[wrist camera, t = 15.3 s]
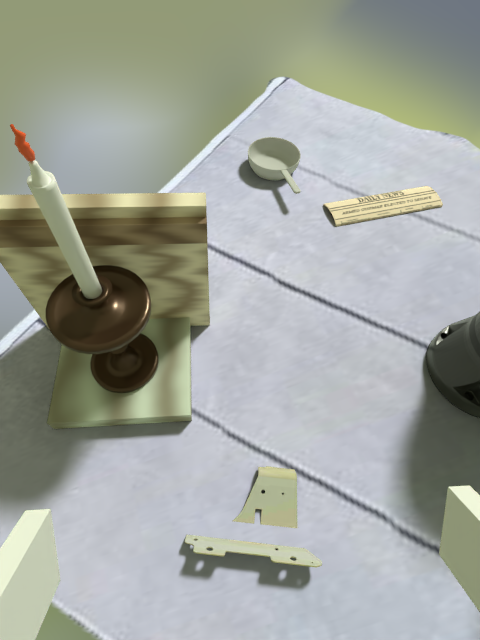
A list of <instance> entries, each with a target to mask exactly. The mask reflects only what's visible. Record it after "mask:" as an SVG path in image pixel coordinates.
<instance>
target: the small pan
mask: <svg viewBox="0 0 480 640" xmlns="http://www.w3.org/2000/svg"><path fill="white" fill-rule="evenodd" d="M248 160H249V163H250V166H251V168H252V169H253V171H254V172H255V173H256V174H257V175H258V176H259V177H261V178H264V179H267V180H282V179H286V181H287V182H288V184H289V185H290V187H291V189H292V190H293V192H294V193H295V194H298V193H300V189H299V188H298V186H297V185H296V183H295V182H294V180H293V179H292V177H291V176H290V175H291V174H292V173H293V172H294V171H295V169H296V168H297V166H298V163H299V160H300V151H299V149H298V148H297V147H296V146H295V145H294V144H293V143H291V142H289V141H287V140H284V139H281V138H275V137H267V138H261V139H259V140H256V141H254V142H253V143H252V144H251V145H250V147H249V149H248Z"/></svg>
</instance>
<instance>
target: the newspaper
mask: <svg viewBox="0 0 480 640" xmlns="http://www.w3.org/2000/svg"><path fill="white" fill-rule="evenodd" d="M324 205H325V207H328V209H329V210H330V211H331V213H332V216H333V218H334V220H335V223H336V226H341V225H347V224H352V223H357V222H363V221H368V220H373V219H379V218H384V217H390V216H395V215H400V214H406V213H411V212H416V211H422V210H427V209H432V208H438V207H442V205H443V204H442V202H441V199H440V198H439V196H438V194H437V193H436V192H435V191H434V190H433V189H432V188H431V187H428V186H424V187H418V188H413V189H407V190H401V191H395V192H390V193H384V194H378V195H372V196H367V197H361V198H355V199H349V200H344V201H338V202H332V203H326V204H324ZM324 205H323V206H324Z"/></svg>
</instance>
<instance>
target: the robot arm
mask: <svg viewBox="0 0 480 640" xmlns="http://www.w3.org/2000/svg"><path fill="white" fill-rule="evenodd" d="M427 366H428V370H429V373H430V376H431V378H432V380H433V382H434V383H435V385H436V387H437V388H438V389H439V391H440V392H441V393H442V394H443V395H444V396H445V397H446V398H447V399H448V400H449V401H450V402H451V403H452V404H454V405H455V406H456V407H458V408H459V409H461V410H463V411H465V412H467V413H469V414H471V415H473V416H476V417H479V418H480V312H479V313H478V314H476V315H475V316H472V317H469V318H467V319H464V320H461V321H458V322H456V323H453V324H451V325H449V326H447V327H445V328H444V329H443V330H441V331H440V332H439V333H438V334H437V335H436V336H435V337H434V339H433V340H432V341H431V343H430V345H429V347H428V351H427ZM439 555H440V556H441V558H442V559H443V561H444V562H445V563H446V565H447V566H448V568H449V569H450V570H451V572H452V573H453V575H454V576H455V578H456V579H457V580H458V582H459V583H460V585H461V586H462V588H463V589H464V590H465V592H466V593H467V595H468V596H469V597H470V599H471V600H472V602H473V603H474V605H475V606H476V607H477V609H478V610H479V612H480V495H479V494H478V493H477V492H476V491H475V490H474V489H473V488H472V487H471V486H470V485H469V486H451V487H448V491H447V498H446V506H445V513H444V521H443V528H442V535H441V543H440V550H439ZM59 582H60V574H59V566H58V559H57V552H56V545H55V537H54V530H53V523H52V516H51V509H43V510H25V512H24V513H23V515H22V517H21V518H20V520H19V521H18V523H17V524H16V526H15V527H14V529H13V530H12V532H11V533H10V535H9V536H8V538H7V539H6V541H5V542H4V544H3V545H2V547H1V548H0V640H35V639H36V636H37V634H38V632H39V629H40V627H41V624H42V622H43V620H44V618H45V615H46V613H47V610H48V608H49V606H50V604H51V601H52V599H53V597H54V594H55V592H56V589H57V587H58V585H59Z"/></svg>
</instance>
